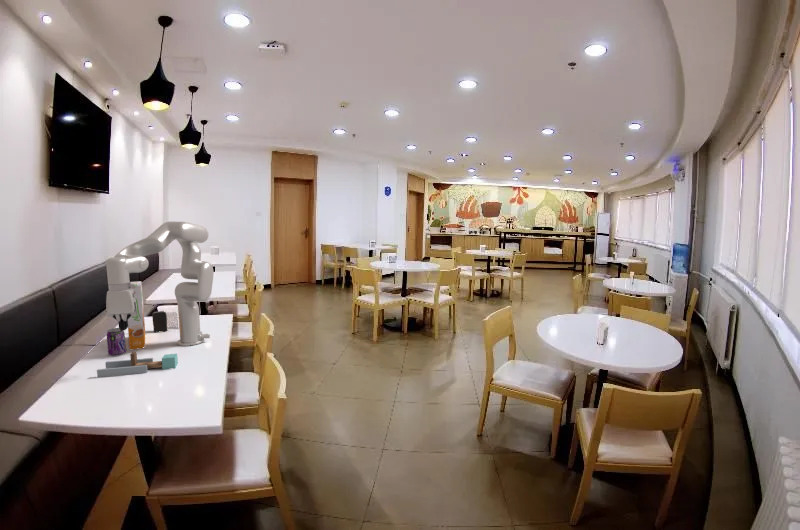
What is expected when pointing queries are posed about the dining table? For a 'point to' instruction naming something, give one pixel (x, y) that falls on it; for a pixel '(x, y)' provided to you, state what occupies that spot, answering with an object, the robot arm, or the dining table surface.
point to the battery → (159, 321)
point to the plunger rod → (149, 364)
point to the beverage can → (116, 342)
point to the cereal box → (137, 320)
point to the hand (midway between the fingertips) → (123, 329)
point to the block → (169, 361)
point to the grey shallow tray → (123, 368)
